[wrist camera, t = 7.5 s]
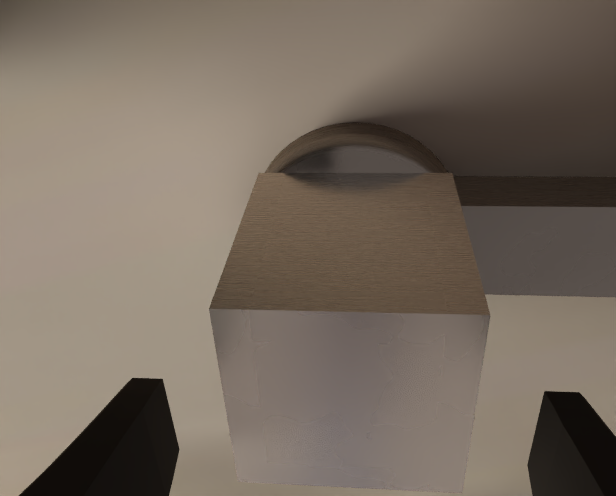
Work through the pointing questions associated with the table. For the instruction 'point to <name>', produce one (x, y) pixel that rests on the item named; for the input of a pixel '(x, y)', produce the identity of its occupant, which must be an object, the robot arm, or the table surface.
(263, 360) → the white wooden cube
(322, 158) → the orange and grey piece
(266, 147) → the table surface
